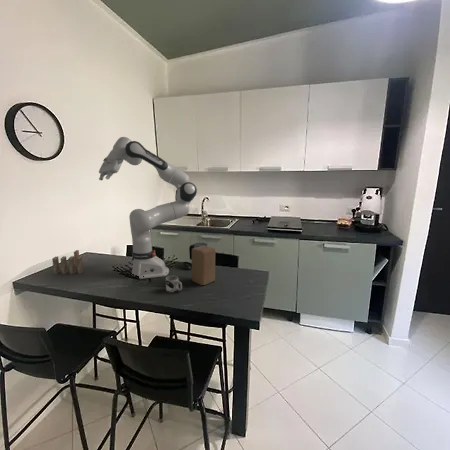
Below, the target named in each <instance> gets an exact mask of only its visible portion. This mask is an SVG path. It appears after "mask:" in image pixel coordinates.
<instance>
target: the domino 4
mask: <svg viewBox="0 0 450 450" xmlns="http://www.w3.org/2000/svg"><path fill="white" fill-rule="evenodd" d="M79 251H80V250H79V249H78V250H77V249H76V250H74V251H73V256H74V261H75V268H77V257H78V256H80V252H79Z"/></svg>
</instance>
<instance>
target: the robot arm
mask: <svg viewBox="0 0 450 450" xmlns="http://www.w3.org/2000/svg"><path fill="white" fill-rule="evenodd" d="M124 161H125V162H126V163H129V165H132V166H139V165H140V164H141V163H142V161H144V162H146V163H147V164H150V165H152V166H153V167H154V168H155V170H156V172H157V173H158V176H159V178H160V179H162V180H163V181H164V182H166V183H167V184H170V185H172V186H174V187H175V188H176V190H175V200H174V201H172V202H171V201H169V202H168V203H167V202H166V203H164V204H159V205H157V206H155V207H153V208H150V209H147V210H144V209H141V208H136V209H133V210H132V211H131V212H130V213H129V216H128V217H129V218H128V219H129V227H130V234H131V239H132V240H131V242H132V251H131V255H132V256H131V259H132V268H131V270H132V271H131V273H132V274H134V275H137V276H139V278H138V279H140V280H141V279H142V280H143V279H152V278H159V277H161V278H162V277H167V276H169V272H170V268H169V267H167V266H166V263H165V261H164V259H161V258H159V257H158V256H157V255H156V254H157V253H156V250H154V249H153V244H152V235H151V232H150V231H151V230H152V229H153V228H156V227H157V226H160V225H163V224H164V223H168V222H172V221H175V220H178V219H181V218H183V217H185V216H187V215H188V214H189V212H190V203H192V201H193V200H194V199H195V197H196V196H197V192H198V188H197V186H196V185H195V183H193V182H192V181H191V182H190V176H189V175H188V174H187V173H186V172H184V171H183V170H181V169H180V168H178V167H176V166H174V165H173V164H170V163H168V162H167V160H166V161H165V160H164V159H163V158H161V157H160V156H158V155H156V154H154V153H153V152H151V151H150V150H148V149H147V148H145V147H144V145H142V144H141V143H140V142H139V141H136V140H131V139H130V138H128V137H126V136H120V137H119V138H118V139H117V140H116V141H115V143H114V144H113V147H112V149H111V150H110V152H109V153H108V155H107V156H106V157H104V159H103V161H102V164H101V166H100V168H99V171H98V173H99V174H100V175H99V178H98V180H99V181H103V180H104V177H105V180H110V178H111V177H112V176H113V175H114V174H117V173H118V172H119V171H120V169H121V166H122V164H123V162H124ZM132 274H131V275H132ZM143 276H144V277H143Z"/></svg>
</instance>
